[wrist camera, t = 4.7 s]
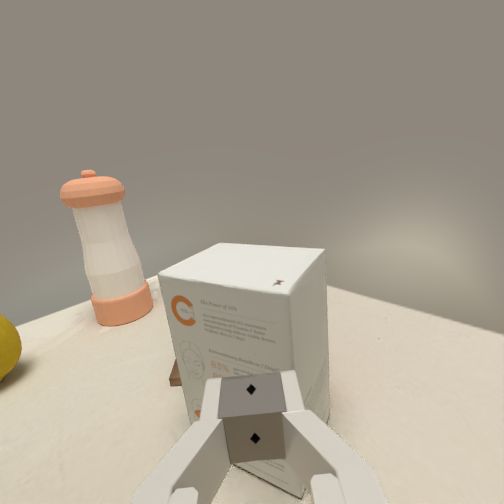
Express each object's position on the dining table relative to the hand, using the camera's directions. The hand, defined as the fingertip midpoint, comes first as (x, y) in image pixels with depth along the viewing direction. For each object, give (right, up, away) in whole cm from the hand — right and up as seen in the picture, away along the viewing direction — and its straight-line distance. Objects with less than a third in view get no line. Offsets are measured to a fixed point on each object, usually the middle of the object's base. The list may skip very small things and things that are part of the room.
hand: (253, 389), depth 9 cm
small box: (+1, -8, +11) cm, 13 cm away
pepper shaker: (-18, -4, +30) cm, 35 cm away
